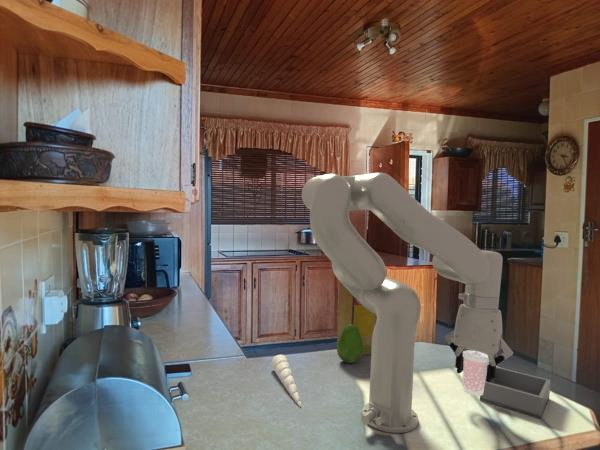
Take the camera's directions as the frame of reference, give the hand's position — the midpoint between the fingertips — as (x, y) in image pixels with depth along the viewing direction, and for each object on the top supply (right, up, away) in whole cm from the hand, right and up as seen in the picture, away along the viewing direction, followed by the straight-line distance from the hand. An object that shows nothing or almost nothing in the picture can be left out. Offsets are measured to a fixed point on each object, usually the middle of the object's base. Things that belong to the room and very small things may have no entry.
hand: (474, 375), depth 99 cm
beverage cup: (0, -4, 0) cm, 4 cm away
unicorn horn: (-45, -7, +11) cm, 47 cm away
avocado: (-27, -7, +29) cm, 40 cm away
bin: (+13, -9, +7) cm, 18 cm away
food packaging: (-23, -6, +41) cm, 48 cm away
